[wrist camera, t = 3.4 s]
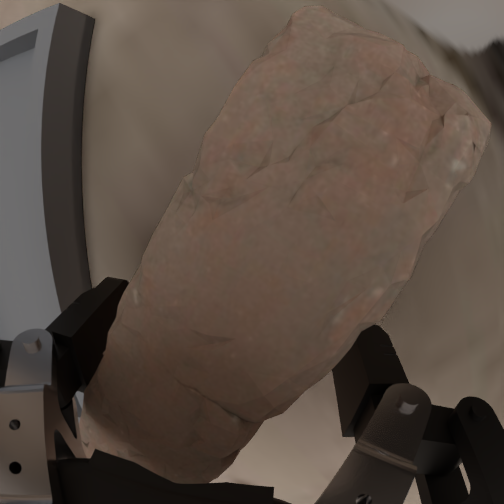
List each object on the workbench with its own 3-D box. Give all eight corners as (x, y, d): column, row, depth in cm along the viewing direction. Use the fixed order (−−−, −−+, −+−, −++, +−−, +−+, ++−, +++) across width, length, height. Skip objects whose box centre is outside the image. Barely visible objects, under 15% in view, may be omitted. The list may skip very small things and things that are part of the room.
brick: (297, -24, 4) (540, 125, 3) (332, 110, 11) (427, 175, 11) (57, 461, 8) (145, 535, 7) (158, 380, 16) (222, 431, 15)
